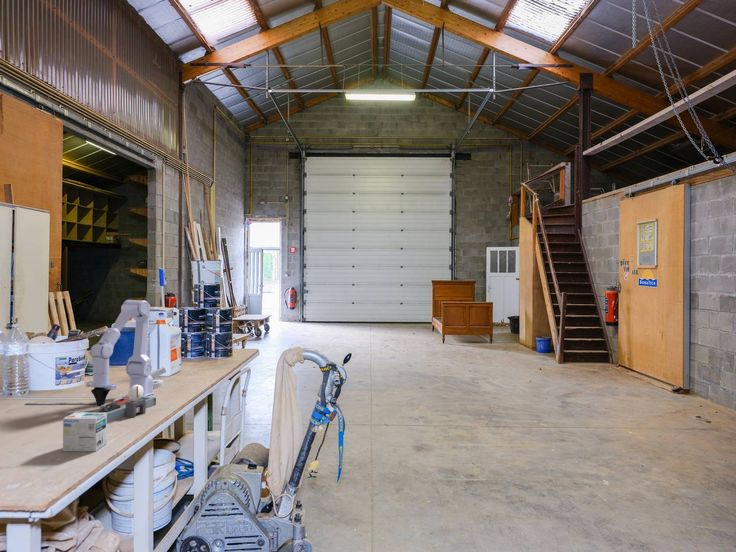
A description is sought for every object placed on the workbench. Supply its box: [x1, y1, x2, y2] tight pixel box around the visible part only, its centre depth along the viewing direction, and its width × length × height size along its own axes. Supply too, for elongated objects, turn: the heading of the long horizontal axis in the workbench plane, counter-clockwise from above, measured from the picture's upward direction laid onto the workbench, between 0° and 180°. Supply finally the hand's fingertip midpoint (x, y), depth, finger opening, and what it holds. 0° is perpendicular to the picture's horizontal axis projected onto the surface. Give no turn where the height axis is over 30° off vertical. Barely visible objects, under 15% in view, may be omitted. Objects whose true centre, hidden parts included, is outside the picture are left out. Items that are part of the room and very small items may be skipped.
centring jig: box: [73, 385, 157, 422], centre depth 185 cm, size 27×18×12 cm
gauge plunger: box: [120, 404, 140, 414], centre depth 184 cm, size 2×8×2 cm, turn 70°
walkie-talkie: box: [90, 396, 131, 413], centre depth 189 cm, size 9×4×20 cm
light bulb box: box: [62, 411, 108, 452], centre depth 149 cm, size 11×7×11 cm, turn 92°
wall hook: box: [149, 366, 167, 389], centre depth 227 cm, size 9×10×10 cm
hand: (100, 405), depth 189 cm, fingers closed
